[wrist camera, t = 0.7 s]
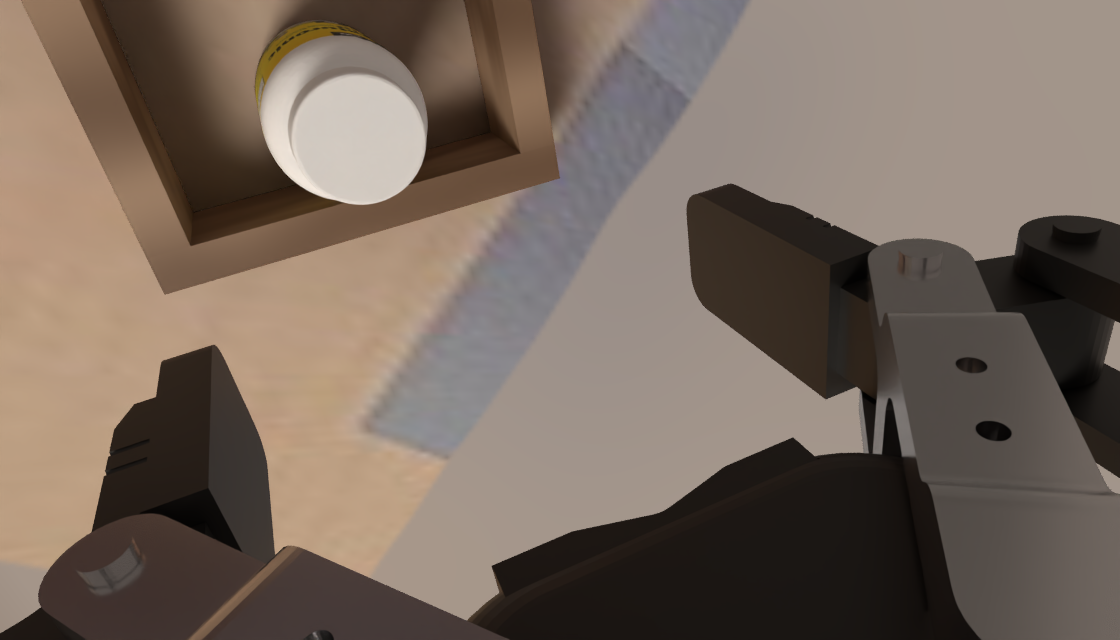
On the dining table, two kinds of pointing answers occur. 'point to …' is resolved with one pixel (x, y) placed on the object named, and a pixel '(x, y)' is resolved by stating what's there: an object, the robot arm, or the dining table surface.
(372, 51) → the supplement bottle
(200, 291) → the dining table surface
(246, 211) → the walnut cubby
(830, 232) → the robot arm
